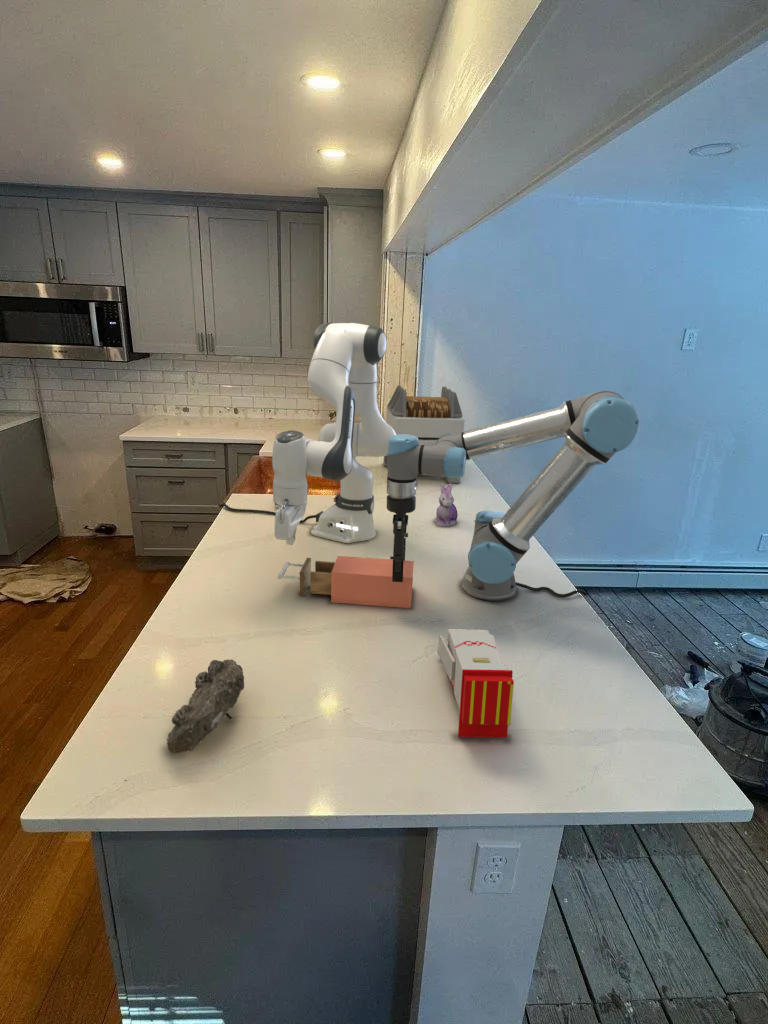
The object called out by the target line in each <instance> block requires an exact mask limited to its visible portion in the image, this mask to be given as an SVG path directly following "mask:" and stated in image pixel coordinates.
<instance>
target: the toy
mask: <svg viewBox="0 0 768 1024" xmlns="http://www.w3.org/2000/svg"><path fill="white" fill-rule="evenodd" d="M446 640H447V643H446V641H445V639H444V636H443V635H442V634H439V637H438V646H437V656H438V657H439V659H440V661H441V663H442V666H443V668H444V670H445V672H446V674H447V677H448V679H449V681H450V684H451V687H452V690H453V693H454V697H455V701H456V705H457V708H458V711H459V714H458V715H459V716H458V730H457V731H458V732H457V737H458V738H508V731H509V726H510V725H511V717H512V707H513V697H514V696H513V695H514V684H515V680H514V679H513V673H514V671H513V670H512V669H508V667H507V665H506V662H505V661H504V659H503V658H502V655H501V653H500V651H499V649H498V647H497V643H496V639H495V637H494V635H493V634H491V632H490V631H489V629H467V628H466V629H465V628H463V629H461V628H460V629H459V628H448V630H447V639H446Z"/></svg>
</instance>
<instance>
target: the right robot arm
mask: <svg viewBox="0 0 768 1024" xmlns="http://www.w3.org/2000/svg"><path fill="white" fill-rule="evenodd" d="M639 419H640V418H639V415H638V412H637V410H636V408H635V407H634V405H633V404H632V403H631V402H630V401H629V400H627V399H626V398H625V397H623V396H622V395H621V394H619V393H617V392H615V391H611V390H598V391H595V392H590V393H589V394H586V395H585V394H584V395H582V396H579V397H576V398H572V399H570V400H565V401H563V402H562V404H561V405H560V406H558V407H555V408H551V409H547V410H543V411H539V412H535V413H531V414H527V415H523V416H519V417H515V418H511V419H507V420H504V421H500V422H496V423H493V424H488V425H485V426H481V427H477V428H473V429H469V430H464V432H462V433H457V434H452V433H449V434H445V435H443V436H442V437H440V438H439V439H438V440H437V442H436V444H435V446H428V445H420V444H419V442H418V438H417V437H416V436H414V435H409V434H398V435H394V436H392V437H391V438H390V439H389V446H388V453H387V455H388V467H387V475H386V476H387V478H386V494H387V496H386V510H387V511H388V512H390V513H394V514H393V515H392V516H393V517H392V527H393V528H392V533H393V552H392V556H390V557H389V559H391V560H393V573H392V582H403V562H404V560H405V561H406V545H407V541H406V540H407V538H409V533H408V532H407V530H408V525H409V514H411V513H413V512H414V511H415V510H416V506H417V505H416V504H417V497H416V495H417V488H418V487H419V486H420V484H419V483H418V482H417V480H418V476H427V477H428V476H429V477H430V476H431V477H441V478H444V477H447V478H460V479H461V478H463V477H464V475H465V472H466V466H467V465H466V464H467V461H468V460H472V459H473V460H474V459H477V458H481V457H485V456H490V455H494V454H497V453H502V452H507V451H511V450H514V449H519V448H523V447H528V446H530V445H531V446H532V445H535V444H539V443H543V442H544V443H545V442H548V441H553V440H557V439H561V438H564V439H565V442H564V444H563V445H562V446H561V447H560V448H559V450H558V451H557V452H556V453H555V454H554V456H552V458H551V459H550V460H549V461H548V463H546V465H545V466H544V467H543V468H542V469H541V470H540V472H539V473H538V474H537V476H536V477H535V478H534V479H533V480H532V482H531V483H530V484H529V485H528V486H527V488H526V489H525V490H524V491H523V492H522V493H521V494H520V495H519V497H518V498H517V499H516V500H515V501H514V503H513V504H512V505H511V507H510V508H508V509H507V511H499V510H481V511H479V512H477V513H476V514H475V518H474V528H473V534H472V535H473V536H472V540H471V544H470V549H469V550H468V551H469V552H468V554H467V560H468V561H467V562H468V563H467V564H468V566H467V568H466V571H465V573H464V575H463V578H462V580H461V581H462V583H461V587H462V589H463V591H464V592H465V593H467V595H470V596H472V597H474V598H477V599H479V600H484V601H491V602H499V601H500V602H501V601H506V600H509V599H511V598H513V597H514V596H515V595H516V592H517V587H520V588H523V589H525V590H529V591H532V592H540V591H547V592H549V593H550V594H551V595H553V596H554V597H556V598H562V599H563V598H569V597H572V596H574V595H576V594H581V595H583V596H585V597H586V596H587V597H588V593H587V592H586V591H585V590H583V589H581V588H580V589H575V590H572V591H570V592H568V593H558V592H556V591H555V590H553V589H552V588H550V587H547V586H539V587H533V586H530V585H527V584H524V583H521V582H518V581H516V578H515V577H516V576H515V571H516V568H517V563H518V562H519V561H520V560H521V559H522V558H523V557H524V555H526V553H527V552H528V551H529V550H530V548H531V546H530V545H531V544H530V539H531V538H532V537H533V536H534V535H535V534H536V533H537V532H538V531H539V530H540V528H542V527H543V525H544V524H545V522H546V521H547V520H548V519H549V518H550V517H551V516H552V515H553V513H555V511H556V510H557V509H558V508H559V507H560V506H561V505H562V503H564V501H565V500H566V499H567V498H568V497H569V496H570V495H571V493H572V492H573V491H574V490H575V489H576V488H577V486H578V485H579V484H581V482H582V481H583V480H584V478H586V476H588V474H589V473H590V472H591V471H592V470H593V469H594V468H595V467H596V466H600V465H606V464H607V463H608V462H609V461H610V460H611V458H612V457H613V456H615V454H616V453H618V452H621V451H623V450H625V449H626V448H628V447H629V446H630V445H631V444H632V443H633V442H634V441H635V439H636V437H637V435H638V434H639V433H638V432H639V430H640V420H639ZM576 590H577V591H576ZM577 592H578V593H577Z"/></svg>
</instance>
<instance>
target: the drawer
mask: <svg viewBox="0 0 768 1024" xmlns="http://www.w3.org/2000/svg"><path fill="white" fill-rule="evenodd" d="M335 562H336V561H325V560H315V563H314V571H312V557H306V558H305V560H304V563H297V562H296V563H295V562H290V561H285V562H284V565H283V566H282V568H281V570H280V572H279V574H278V575H277V579H278V580H283V579H292V580H299V596H302V597H305V595H306V593H307V590H308V589H309V587H310V591H309V592H310V594H315V595H327V596H331V572H332V570H333V567H334V564H335ZM289 567H301V569H300V571H299V575H286V572H287V570H288V568H289Z"/></svg>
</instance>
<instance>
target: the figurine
mask: <svg viewBox="0 0 768 1024" xmlns="http://www.w3.org/2000/svg"><path fill="white" fill-rule="evenodd" d="M452 489H453V483H449V484H448V485H447V487H445V485H444V484H443V483H441V484H440V494H439V497H438V503H439V506H438V507H437V508H436V513H435V515H436V517H435V521H434V522H435V523H436V524H437V526H440V527H450V526H454V525H455V524H457V520H458V517H459V516H458V514H459V513H458V510H457V507H456V505H455V504H454V502H455V498H454V495H453V493H452Z"/></svg>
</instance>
